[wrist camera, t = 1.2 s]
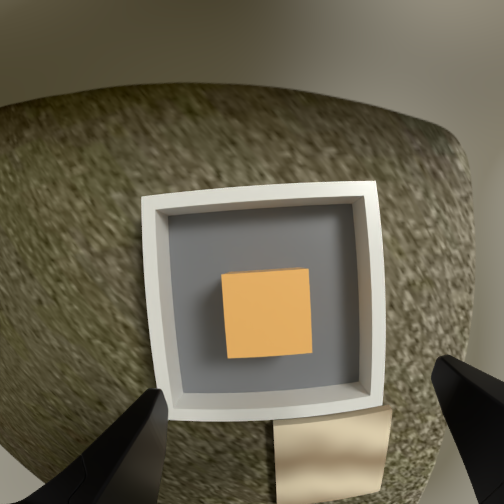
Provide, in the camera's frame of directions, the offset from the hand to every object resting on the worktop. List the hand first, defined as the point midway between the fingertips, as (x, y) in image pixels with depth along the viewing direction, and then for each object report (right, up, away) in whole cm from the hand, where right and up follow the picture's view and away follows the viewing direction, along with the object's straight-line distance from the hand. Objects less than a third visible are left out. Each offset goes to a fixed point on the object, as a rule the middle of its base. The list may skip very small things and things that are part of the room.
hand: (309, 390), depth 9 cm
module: (-1, 0, +14) cm, 14 cm away
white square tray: (-1, 0, +15) cm, 15 cm away
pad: (+5, -14, +14) cm, 21 cm away
